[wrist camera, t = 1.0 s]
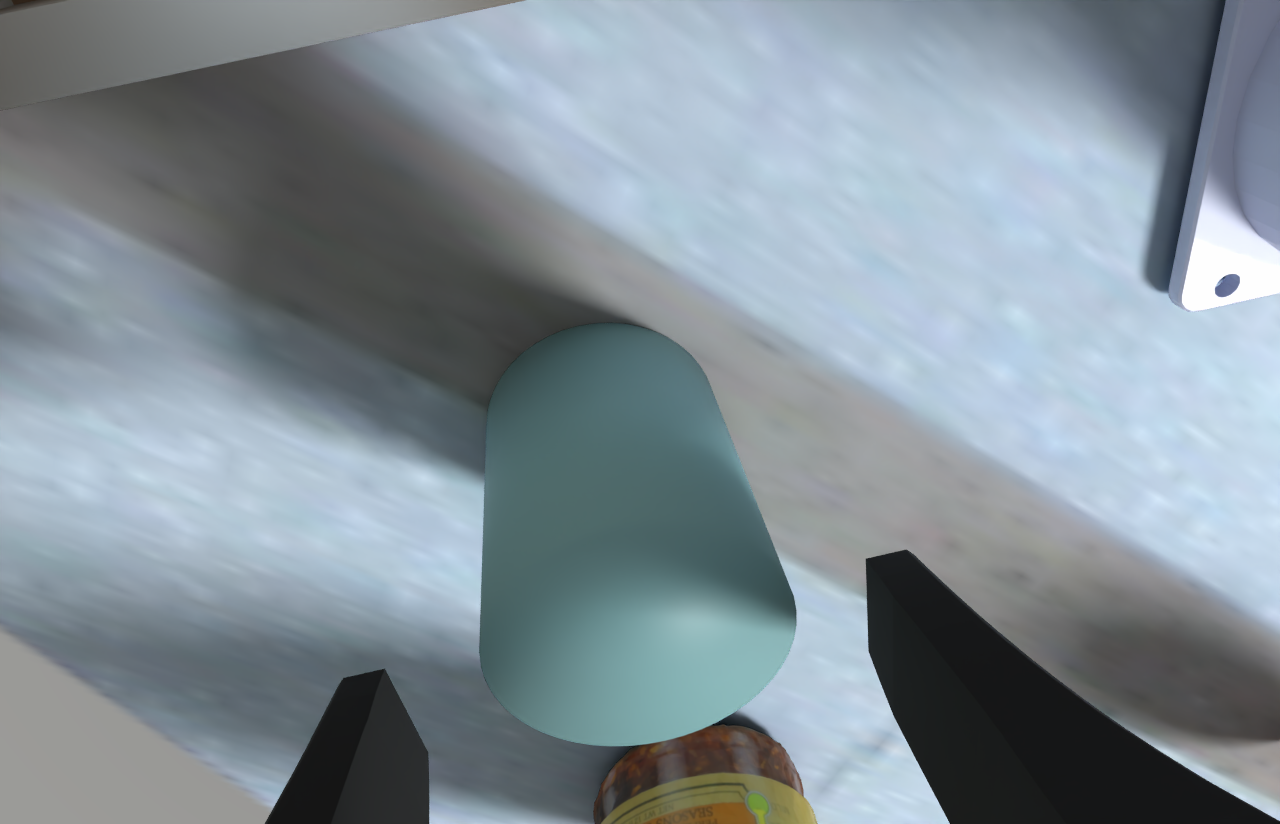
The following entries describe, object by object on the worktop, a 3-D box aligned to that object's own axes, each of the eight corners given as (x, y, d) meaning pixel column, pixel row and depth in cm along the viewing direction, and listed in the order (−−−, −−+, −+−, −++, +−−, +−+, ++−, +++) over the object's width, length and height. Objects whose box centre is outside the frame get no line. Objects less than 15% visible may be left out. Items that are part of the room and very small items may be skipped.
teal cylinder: (699, 299, 16) (784, 489, 11) (727, 488, 19) (805, 708, 14) (457, 352, 16) (437, 566, 11) (519, 534, 19) (524, 773, 14)
